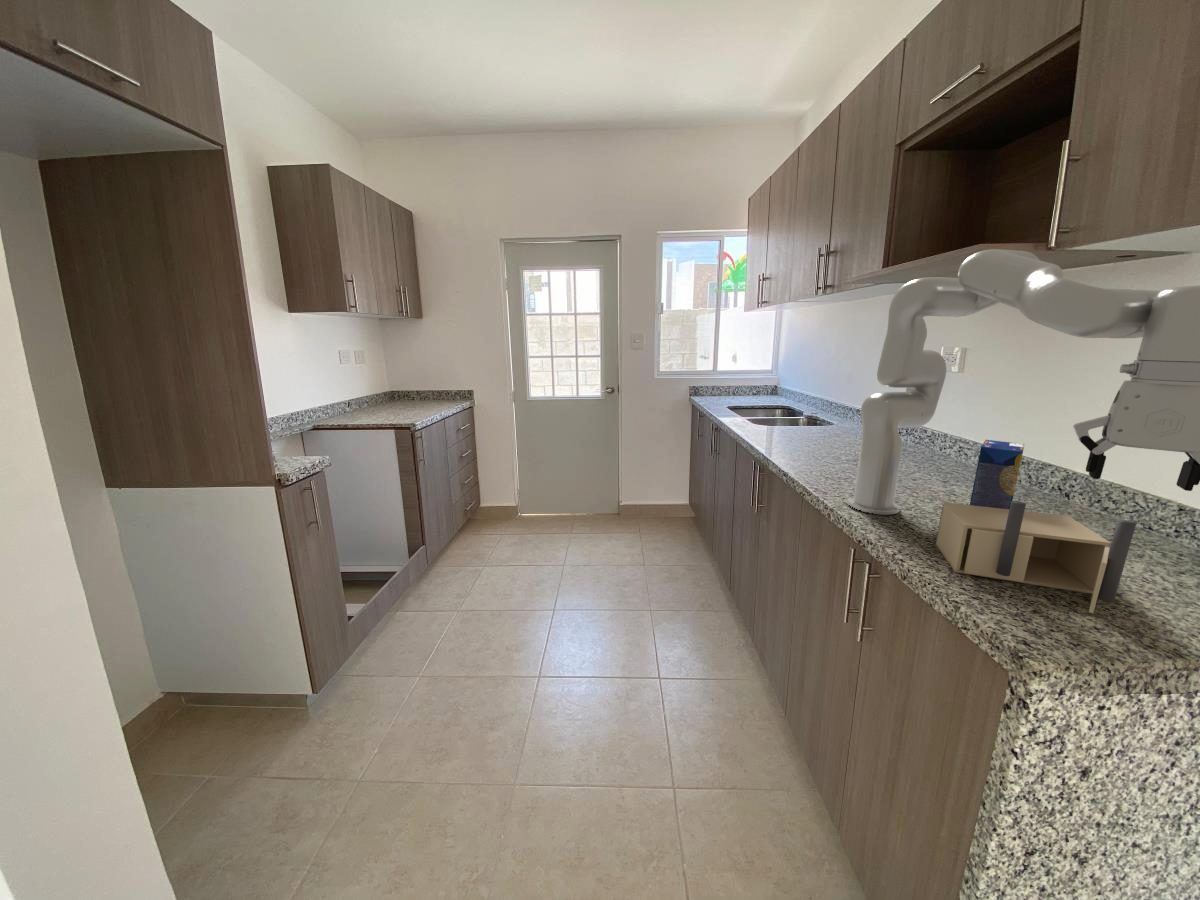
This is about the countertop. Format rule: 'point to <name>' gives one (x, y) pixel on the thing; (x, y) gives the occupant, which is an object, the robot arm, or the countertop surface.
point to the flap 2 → (1113, 564)
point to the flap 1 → (1000, 549)
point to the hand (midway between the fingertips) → (1137, 482)
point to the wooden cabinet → (1056, 552)
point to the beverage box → (996, 474)
